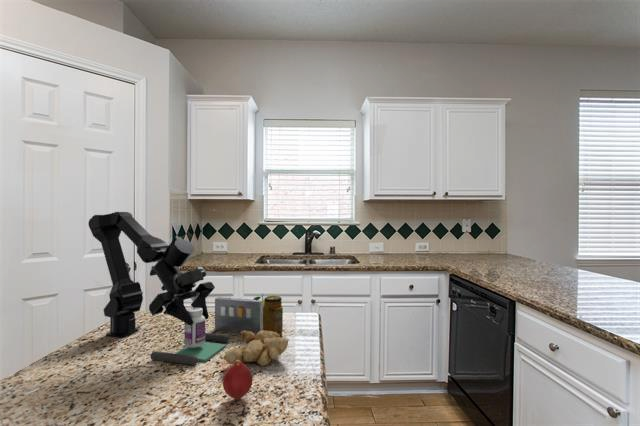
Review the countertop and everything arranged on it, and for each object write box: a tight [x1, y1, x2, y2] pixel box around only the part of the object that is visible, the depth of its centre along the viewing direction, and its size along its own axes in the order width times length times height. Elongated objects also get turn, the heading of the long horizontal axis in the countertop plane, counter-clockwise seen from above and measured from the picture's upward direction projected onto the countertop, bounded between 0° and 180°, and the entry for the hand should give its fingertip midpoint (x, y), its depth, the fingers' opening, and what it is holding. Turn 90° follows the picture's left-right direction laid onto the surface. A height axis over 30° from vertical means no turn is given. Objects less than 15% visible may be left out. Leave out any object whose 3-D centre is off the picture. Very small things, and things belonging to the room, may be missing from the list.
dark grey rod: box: [205, 332, 230, 343], centre depth 96 cm, size 13×2×2 cm, turn 76°
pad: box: [174, 341, 227, 363], centre depth 88 cm, size 10×10×1 cm
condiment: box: [263, 295, 290, 341], centre depth 99 cm, size 7×8×12 cm
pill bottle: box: [183, 307, 206, 348], centre depth 89 cm, size 5×5×10 cm
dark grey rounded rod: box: [149, 350, 199, 366], centre depth 82 cm, size 13×2×2 cm, turn 76°
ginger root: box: [222, 330, 289, 367], centre depth 84 cm, size 16×16×8 cm
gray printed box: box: [214, 296, 264, 335], centre depth 104 cm, size 16×3×10 cm, turn 76°
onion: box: [222, 360, 253, 401], centre depth 65 cm, size 6×6×8 cm
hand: (200, 321), depth 88 cm, fingers closed on pill bottle, 5 cm apart
